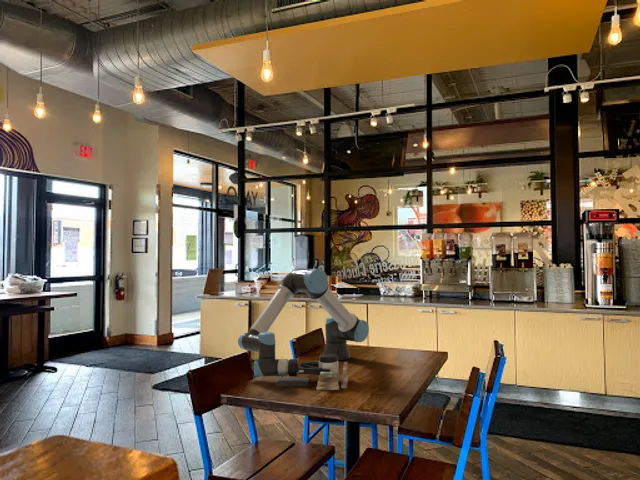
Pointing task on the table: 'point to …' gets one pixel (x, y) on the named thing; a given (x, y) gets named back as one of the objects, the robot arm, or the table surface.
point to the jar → (329, 362)
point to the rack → (344, 380)
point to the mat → (293, 382)
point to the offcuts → (327, 380)
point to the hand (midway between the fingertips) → (338, 367)
